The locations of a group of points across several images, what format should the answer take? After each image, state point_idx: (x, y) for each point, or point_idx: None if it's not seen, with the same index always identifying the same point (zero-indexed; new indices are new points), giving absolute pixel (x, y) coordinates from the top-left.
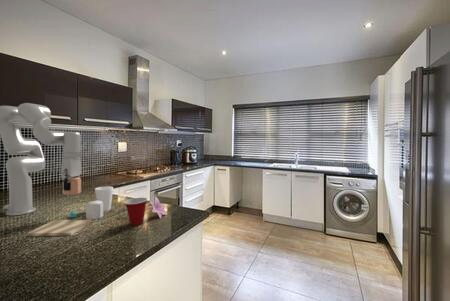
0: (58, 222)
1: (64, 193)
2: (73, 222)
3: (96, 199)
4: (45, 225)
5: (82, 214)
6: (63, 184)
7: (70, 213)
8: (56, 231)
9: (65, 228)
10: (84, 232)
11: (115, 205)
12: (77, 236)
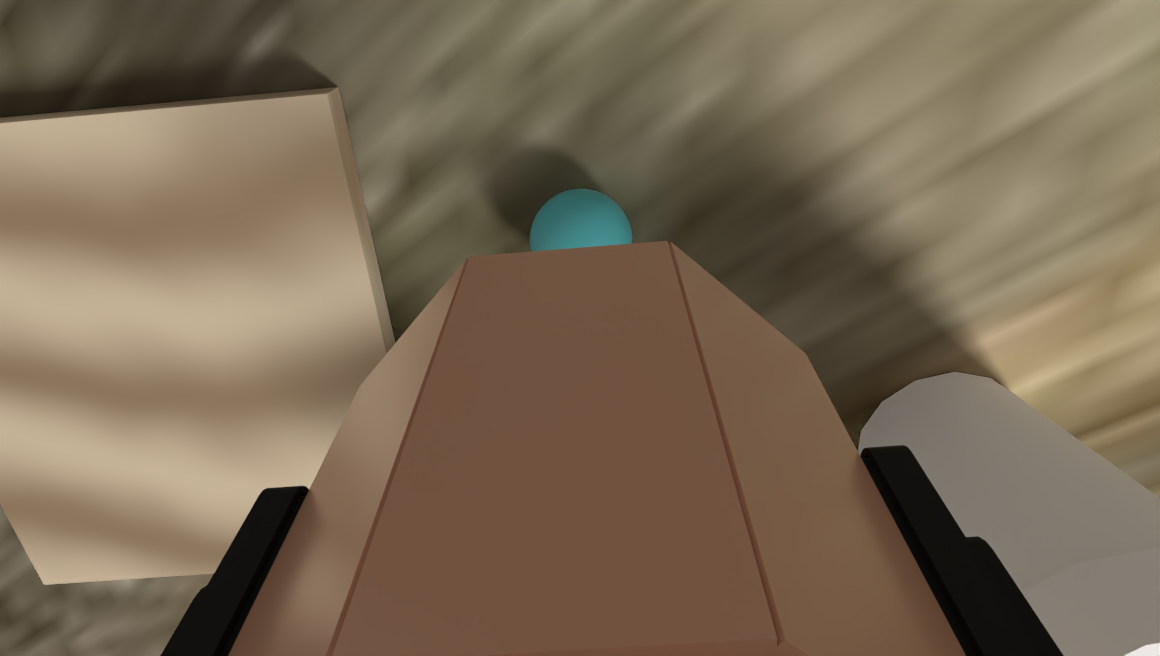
0: (252, 249)
1: (351, 406)
2: (299, 433)
3: (997, 477)
4: (101, 155)
5: (728, 267)
6: (328, 535)
7: (541, 234)
8: (8, 437)
9: (110, 469)
10: (162, 622)
11: (1155, 481)
12: (67, 618)
